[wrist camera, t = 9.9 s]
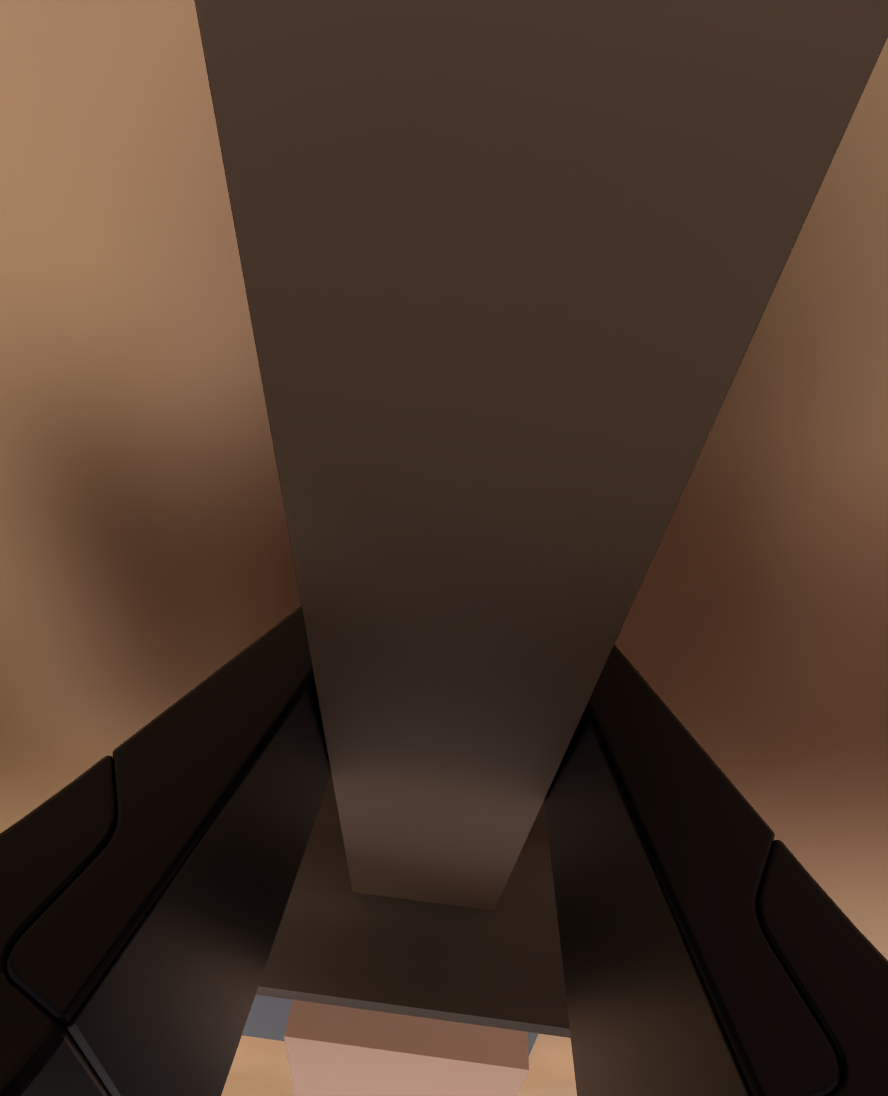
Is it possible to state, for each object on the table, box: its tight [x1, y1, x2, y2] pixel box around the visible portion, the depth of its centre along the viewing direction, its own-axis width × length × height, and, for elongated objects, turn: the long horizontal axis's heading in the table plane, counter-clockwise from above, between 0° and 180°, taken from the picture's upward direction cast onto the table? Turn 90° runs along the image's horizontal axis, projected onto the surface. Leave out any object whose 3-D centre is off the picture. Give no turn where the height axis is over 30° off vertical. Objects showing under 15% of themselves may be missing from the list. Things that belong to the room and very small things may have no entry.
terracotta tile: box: [284, 1000, 529, 1096], centre depth 21 cm, size 7×2×9 cm
